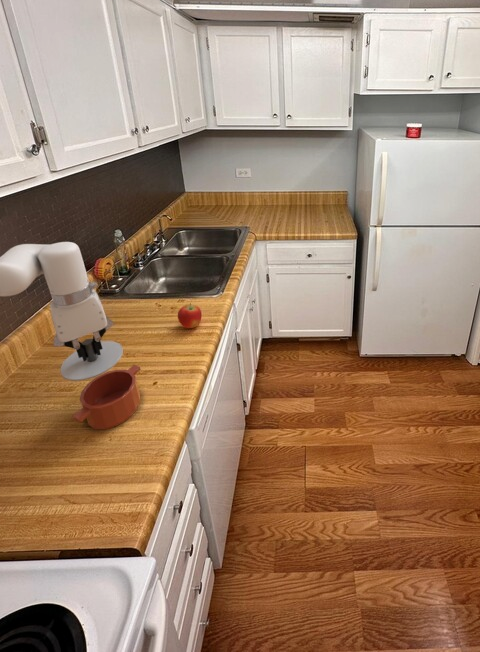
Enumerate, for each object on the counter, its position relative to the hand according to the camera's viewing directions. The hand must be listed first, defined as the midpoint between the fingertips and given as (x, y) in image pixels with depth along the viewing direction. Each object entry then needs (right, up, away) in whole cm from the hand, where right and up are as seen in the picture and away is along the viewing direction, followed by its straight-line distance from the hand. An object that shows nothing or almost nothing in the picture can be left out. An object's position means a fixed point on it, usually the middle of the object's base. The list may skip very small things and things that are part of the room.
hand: (91, 354), depth 85 cm
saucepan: (+3, -17, +5) cm, 18 cm away
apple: (+11, -4, +38) cm, 40 cm away
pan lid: (0, -2, +1) cm, 2 cm away
